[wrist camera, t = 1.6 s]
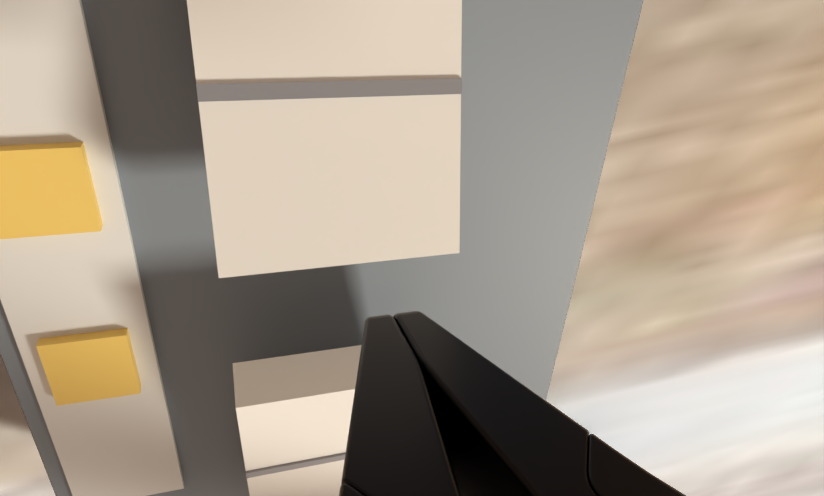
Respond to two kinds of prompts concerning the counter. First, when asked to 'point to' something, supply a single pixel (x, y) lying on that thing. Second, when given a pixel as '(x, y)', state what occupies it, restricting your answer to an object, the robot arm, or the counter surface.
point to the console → (270, 292)
